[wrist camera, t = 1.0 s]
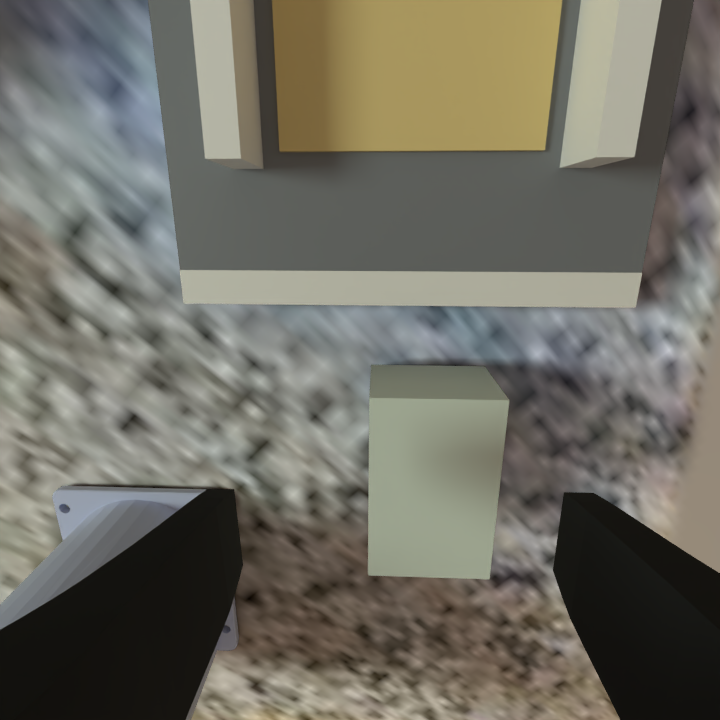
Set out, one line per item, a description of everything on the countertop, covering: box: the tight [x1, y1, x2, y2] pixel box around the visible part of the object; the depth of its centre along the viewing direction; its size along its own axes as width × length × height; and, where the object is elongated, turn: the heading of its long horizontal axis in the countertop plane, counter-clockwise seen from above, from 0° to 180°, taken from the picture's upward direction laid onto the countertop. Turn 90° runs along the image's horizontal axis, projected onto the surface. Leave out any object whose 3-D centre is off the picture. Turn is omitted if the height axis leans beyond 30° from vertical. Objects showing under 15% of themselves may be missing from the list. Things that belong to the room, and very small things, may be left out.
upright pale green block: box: [368, 365, 509, 579], centre depth 17 cm, size 7×4×5 cm, turn 0°
